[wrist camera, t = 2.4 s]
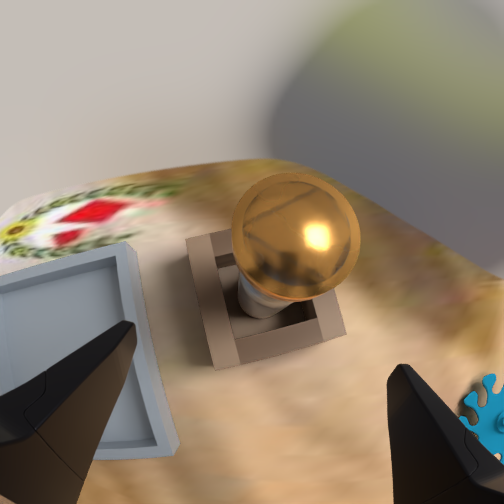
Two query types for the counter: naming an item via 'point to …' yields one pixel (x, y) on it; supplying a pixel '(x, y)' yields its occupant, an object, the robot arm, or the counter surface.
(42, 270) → the tray
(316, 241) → the steel pin
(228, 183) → the counter surface
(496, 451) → the gear
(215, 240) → the collar block
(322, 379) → the counter surface
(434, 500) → the robot arm
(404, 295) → the counter surface
